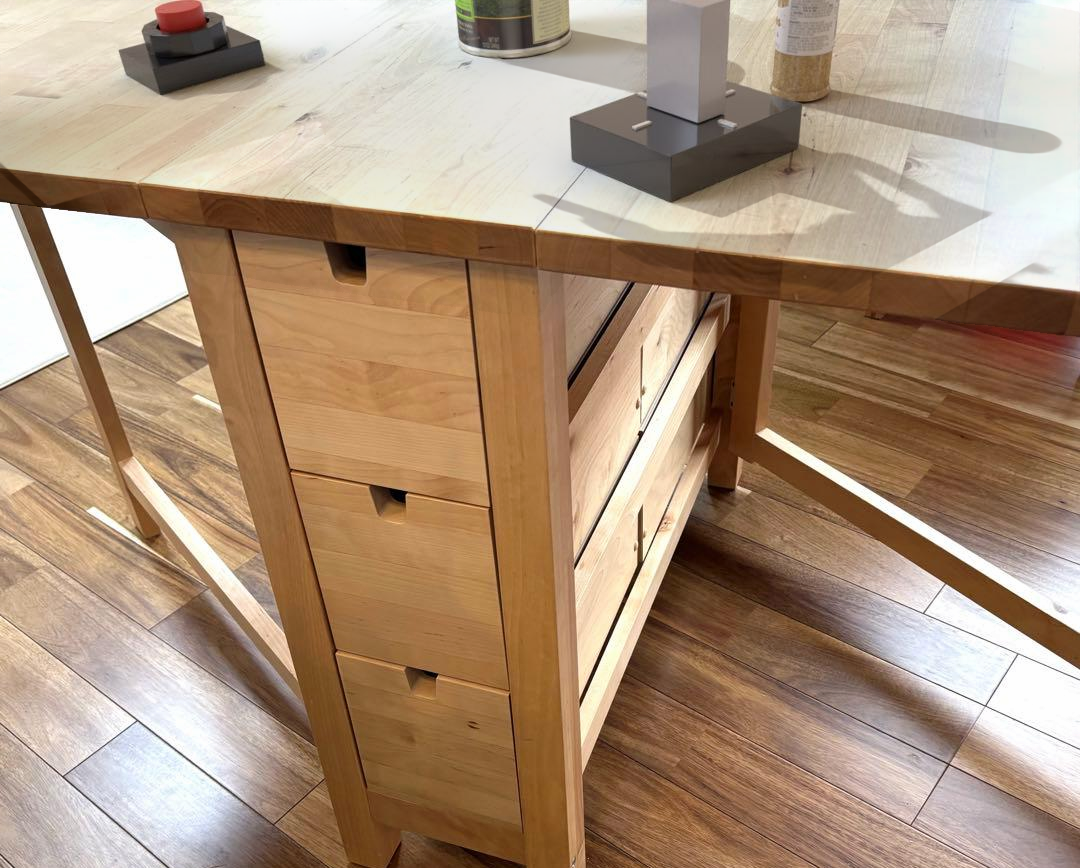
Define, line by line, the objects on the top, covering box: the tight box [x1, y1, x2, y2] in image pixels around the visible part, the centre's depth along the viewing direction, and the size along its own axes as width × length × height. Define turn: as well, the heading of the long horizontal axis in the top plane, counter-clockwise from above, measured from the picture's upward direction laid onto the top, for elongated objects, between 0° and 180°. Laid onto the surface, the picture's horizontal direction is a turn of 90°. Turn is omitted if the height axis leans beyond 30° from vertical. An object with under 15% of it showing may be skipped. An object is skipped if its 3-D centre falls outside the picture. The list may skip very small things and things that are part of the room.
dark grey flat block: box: [569, 80, 803, 203], centre depth 71 cm, size 12×10×3 cm
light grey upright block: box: [646, 0, 731, 123], centre depth 68 cm, size 5×2×7 cm, turn 38°
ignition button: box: [154, 0, 207, 32], centre depth 91 cm, size 4×4×2 cm
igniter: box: [117, 11, 266, 96], centre depth 93 cm, size 10×8×4 cm
